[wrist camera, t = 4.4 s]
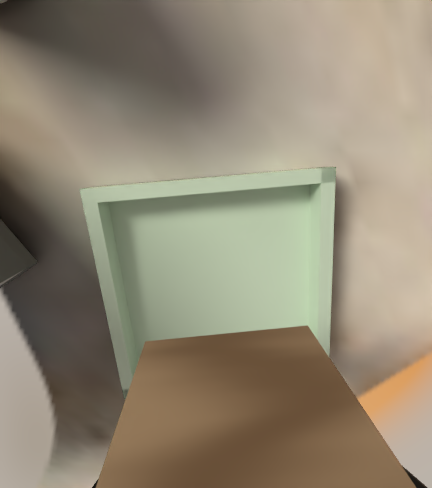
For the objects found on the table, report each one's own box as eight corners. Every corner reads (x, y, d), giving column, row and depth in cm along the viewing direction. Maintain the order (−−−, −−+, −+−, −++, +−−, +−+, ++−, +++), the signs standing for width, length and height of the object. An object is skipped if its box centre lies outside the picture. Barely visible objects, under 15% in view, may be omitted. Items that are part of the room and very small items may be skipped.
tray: (322, 167, 17) (336, 166, 15) (318, 360, 20) (328, 378, 19) (92, 187, 16) (79, 189, 15) (131, 379, 20) (124, 399, 18)
